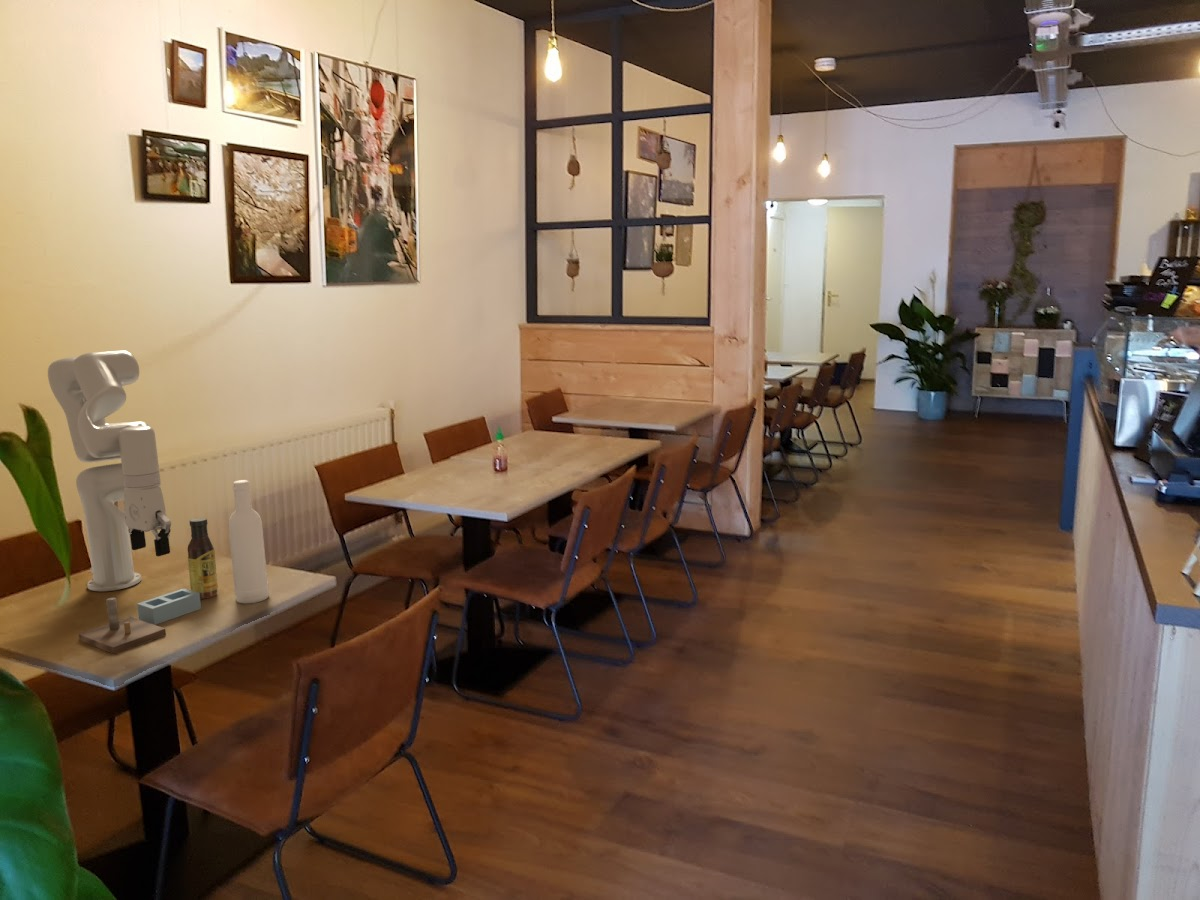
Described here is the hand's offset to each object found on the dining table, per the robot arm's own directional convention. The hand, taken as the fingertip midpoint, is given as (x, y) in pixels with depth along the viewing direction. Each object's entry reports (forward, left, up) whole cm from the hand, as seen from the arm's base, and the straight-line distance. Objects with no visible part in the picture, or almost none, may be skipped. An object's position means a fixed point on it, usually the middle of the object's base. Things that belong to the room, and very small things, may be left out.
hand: (151, 551), depth 213 cm
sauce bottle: (-4, +15, -17) cm, 23 cm away
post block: (+4, -11, -17) cm, 20 cm away
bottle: (+8, +20, -17) cm, 27 cm away
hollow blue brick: (0, +3, -17) cm, 17 cm away
